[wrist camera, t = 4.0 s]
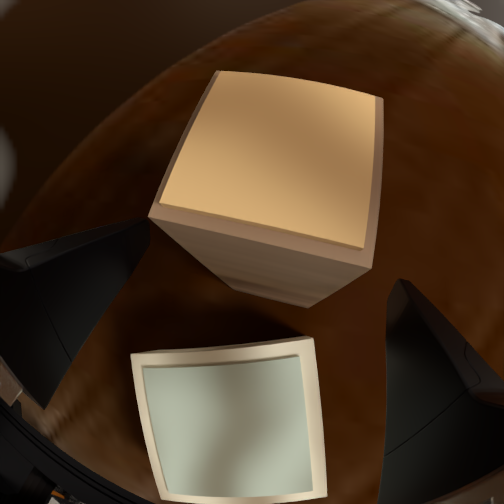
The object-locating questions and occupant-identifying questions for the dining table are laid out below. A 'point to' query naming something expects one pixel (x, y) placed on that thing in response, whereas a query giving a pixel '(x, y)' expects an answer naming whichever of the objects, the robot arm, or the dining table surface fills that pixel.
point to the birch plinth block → (233, 422)
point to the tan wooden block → (277, 185)
